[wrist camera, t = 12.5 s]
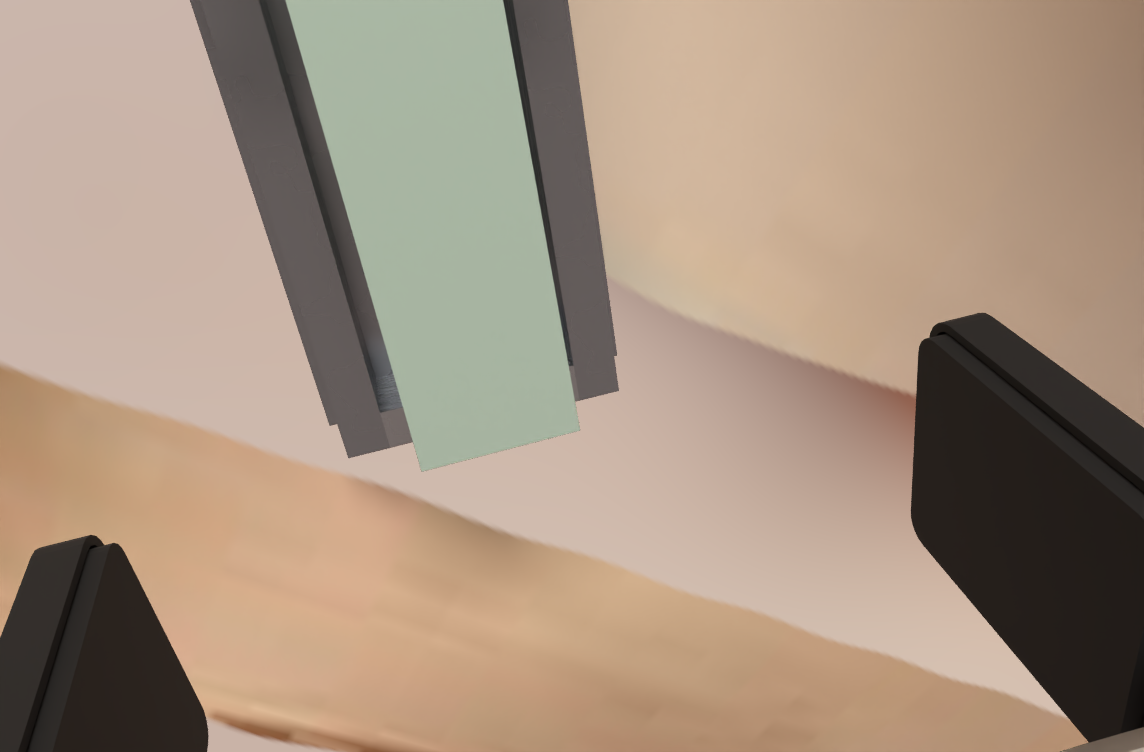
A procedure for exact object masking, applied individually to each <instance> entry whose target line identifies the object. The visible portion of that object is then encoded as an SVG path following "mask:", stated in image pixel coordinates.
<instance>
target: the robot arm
mask: <svg viewBox="0 0 1144 752" xmlns="http://www.w3.org/2000/svg"><path fill="white" fill-rule="evenodd" d="M911 519H912V523H913V527H914V530H915V532H916V534H917V537H918V538H919V540H920V541H921V543H922V544H923V545H924V547H925V548H926V549H927V550H928V551H929V553H930V554H931V555H932V556H933V557H934V558H935V560H936V561H937V562H938V563H939V565H940V566H941V567H942V568H943V569H944V570H945V572H946V573H947V574H948V575H949V576H950V578H951V579H952V580H953V581H954V582H955V584H956V585H957V586H958V587H959V588H960V589H961V590H962V592H963V593H964V594H965V595H966V596H967V598H968V599H969V600H970V601H971V603H972V604H973V605H974V606H975V607H976V608H977V610H978V611H979V612H980V613H981V614H982V616H983V617H984V618H985V619H986V620H987V622H988V623H989V624H990V625H991V626H992V627H993V629H994V630H995V631H996V632H997V633H998V635H999V636H1000V637H1001V638H1002V639H1003V641H1004V642H1005V643H1006V644H1007V645H1008V647H1009V648H1010V649H1011V650H1012V651H1013V653H1014V654H1015V655H1016V656H1017V657H1018V658H1019V660H1020V661H1021V662H1022V663H1023V664H1024V665H1025V667H1026V668H1027V669H1028V670H1029V672H1030V673H1031V674H1032V675H1033V676H1034V677H1035V679H1036V680H1037V681H1038V682H1039V684H1040V685H1041V686H1042V687H1043V688H1044V689H1045V691H1046V692H1047V693H1048V694H1049V695H1050V697H1051V698H1052V699H1053V700H1054V701H1055V703H1056V704H1057V705H1058V706H1059V707H1060V708H1061V710H1062V711H1063V712H1064V713H1065V714H1066V716H1067V717H1068V718H1069V719H1070V720H1071V722H1072V723H1073V724H1074V725H1075V726H1076V728H1077V729H1078V730H1079V731H1080V732H1081V733H1082V735H1083V736H1084V737H1085V738H1086V739H1087V741H1088V742H1089V743H1086V744H1083V745H1080V746H1076V747H1073V748H1070V749H1067V750H1063V751H1060V752H1144V428H1143V427H1142V426H1141V425H1139V424H1138V423H1136V422H1135V421H1134V420H1132V419H1131V418H1130V417H1128V416H1127V415H1126V414H1124V413H1123V412H1121V411H1120V410H1119V409H1117V408H1116V407H1115V406H1113V405H1112V404H1111V403H1109V402H1108V401H1106V400H1105V399H1104V398H1102V397H1101V396H1100V395H1098V394H1097V393H1096V392H1094V391H1093V390H1091V389H1090V388H1089V387H1087V386H1086V385H1085V384H1083V383H1082V382H1081V381H1079V380H1078V379H1076V378H1075V377H1074V376H1072V375H1071V374H1070V373H1068V372H1067V371H1066V370H1064V369H1063V368H1061V367H1060V366H1059V365H1057V364H1056V363H1055V362H1053V361H1052V360H1051V359H1049V358H1048V357H1046V356H1045V355H1044V354H1042V353H1041V352H1040V351H1038V350H1037V349H1036V348H1034V347H1033V346H1031V345H1030V344H1029V343H1027V342H1026V341H1025V340H1023V339H1022V338H1021V337H1019V336H1018V335H1016V334H1015V333H1014V332H1012V331H1011V330H1010V329H1008V328H1007V327H1006V326H1004V325H1003V324H1001V323H1000V322H999V321H997V320H996V319H995V318H993V317H992V316H990V315H988V314H986V313H977V314H973V315H969V316H965V317H961V318H957V319H953V320H949V321H945V322H941V323H938V324H936V325H935V326H934V327H933V329H932V331H931V333H930V338H927V339H924V340H923V341H922V342H921V344H920V346H919V352H918V373H917V394H916V416H915V436H914V457H913V479H912V501H911ZM207 747H208V728H207V721H206V717H205V713H204V710H203V708H202V706H201V704H200V702H199V700H198V698H197V696H196V694H195V692H194V690H193V688H192V686H191V684H190V682H189V680H188V678H187V676H186V674H185V672H184V670H183V668H182V666H181V664H180V662H179V660H178V658H177V656H176V654H175V652H174V650H173V648H172V646H171V644H170V642H169V640H168V638H167V636H166V634H165V632H164V630H163V628H162V626H161V624H160V622H159V620H158V618H157V616H156V614H155V612H154V610H153V608H152V606H151V604H150V602H149V600H148V598H147V596H146V594H145V592H144V590H143V588H142V586H141V584H140V582H139V580H138V578H137V576H136V574H135V572H134V570H133V568H132V566H131V564H130V562H129V560H128V558H127V556H126V554H125V552H124V551H123V549H122V548H121V547H120V546H119V545H118V544H116V543H112V544H108V545H104V544H103V543H102V541H101V540H100V539H99V538H98V537H97V536H93V535H89V536H85V537H81V538H77V539H73V540H69V541H65V542H61V543H57V544H53V545H49V546H45V547H41V548H39V549H37V550H35V551H34V553H33V555H32V556H31V559H30V561H29V564H28V566H27V569H26V572H25V574H24V577H23V580H22V582H21V585H20V587H19V590H18V593H17V595H16V598H15V601H14V603H13V606H12V609H11V611H10V614H9V616H8V619H7V622H6V624H5V627H4V630H3V632H2V635H1V637H0V752H207Z"/></svg>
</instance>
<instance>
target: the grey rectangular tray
mask: <svg viewBox="0 0 1144 752" xmlns="http://www.w3.org/2000/svg"><path fill="white" fill-rule="evenodd" d="M190 2H191V5H192V8H193V11H194V14H195V17H196V20H197V23H198V26H199V29H200V32H201V35H202V38H203V41H204V44H205V48H206V51H207V54H208V56H209V60H210V63H211V66H212V69H213V72H214V75H215V78H216V81H217V84H218V87H219V90H220V93H221V96H222V99H223V102H224V105H225V108H226V112H227V115H228V118H229V121H230V123H231V127H232V130H233V133H234V136H235V139H236V142H237V145H238V148H239V151H240V154H241V157H242V160H243V163H244V166H245V169H246V172H247V175H248V178H249V182H250V185H251V187H252V191H253V194H254V196H255V200H256V203H257V206H258V209H259V212H260V215H261V218H262V221H263V224H264V227H265V230H266V233H267V236H268V239H269V242H270V245H271V248H272V251H273V254H274V258H275V261H276V263H277V266H278V270H279V273H280V276H281V279H282V282H283V285H284V288H285V291H286V294H287V297H288V300H289V303H290V306H291V309H292V312H293V315H294V319H295V321H296V324H297V327H298V331H299V334H300V336H301V340H302V343H303V346H304V349H305V352H306V355H307V358H308V361H309V364H310V367H311V370H312V373H313V376H314V379H315V382H316V385H317V389H318V391H319V395H320V398H321V401H322V404H323V407H324V410H325V413H326V416H327V419H328V422H329V425H330V426H331V425H335V424H338V427H339V431H340V433H341V437H342V439H343V443H344V446H345V449H346V452H347V455H348V458H351V457H355V456H359V455H363V454H367V453H371V452H375V451H379V450H383V449H387V448H391V447H395V446H399V445H403V444H407V443H411V442H413V440H412V437H411V433H410V430H409V426H408V423H407V419H406V416H405V413H404V409H403V406H402V402H401V399H400V395H399V392H398V388H397V385H396V381H395V378H394V374H393V371H392V368H391V364H390V361H389V357H388V354H387V350H386V347H385V343H384V340H383V336H382V333H381V329H380V326H379V322H378V319H377V316H376V312H375V309H374V305H373V302H372V298H371V295H370V291H369V288H368V284H367V281H366V277H365V274H364V271H363V267H362V264H361V260H360V257H359V253H358V250H357V246H356V243H355V239H354V236H353V232H352V229H351V225H350V222H349V219H348V215H347V212H346V208H345V205H344V201H343V198H342V194H341V191H340V187H339V184H338V180H337V177H336V174H335V170H334V167H333V163H332V160H331V156H330V153H329V149H328V146H327V142H326V139H325V135H324V132H323V129H322V125H321V122H320V118H319V115H318V111H317V108H316V104H315V101H314V97H313V94H312V90H311V87H310V83H309V80H308V77H307V73H306V70H305V66H304V63H303V59H302V56H301V52H300V49H299V45H298V42H297V38H296V35H295V32H294V28H293V25H292V21H291V18H290V14H289V11H288V7H287V4H286V0H190ZM503 3H504V8H505V14H506V20H507V25H508V31H509V36H510V42H511V47H512V53H513V59H514V64H515V70H516V75H517V81H518V87H519V92H520V98H521V103H522V109H523V114H524V120H525V126H526V131H527V137H528V142H529V148H530V153H531V159H532V165H533V170H534V176H535V181H536V187H537V193H538V198H539V204H540V209H541V215H542V220H543V226H544V232H545V237H546V243H547V248H548V254H549V259H550V265H551V271H552V276H553V282H554V287H555V293H556V298H557V304H558V310H559V315H560V321H561V326H562V332H563V338H564V343H565V349H566V354H567V360H568V365H569V371H570V377H571V382H572V388H573V393H574V399H575V401H580V400H583V399H588V398H592V397H596V396H599V395H604V394H608V393H611V392H616V391H619V388H618V381H617V374H616V367H615V360H614V356H617V351H616V344H615V336H614V329H613V323H612V315H611V308H610V301H609V293H608V286H607V279H606V272H605V265H604V257H603V250H602V243H601V236H600V229H599V221H598V214H597V207H596V200H595V193H594V185H593V178H592V171H591V164H590V157H589V150H588V142H587V135H586V128H585V121H584V114H583V106H582V99H581V92H580V85H579V78H578V70H577V63H576V56H575V49H574V42H573V35H572V27H571V20H570V13H569V6H568V0H503Z"/></svg>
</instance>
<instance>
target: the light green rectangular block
mask: <svg viewBox="0 0 1144 752" xmlns="http://www.w3.org/2000/svg"><path fill="white" fill-rule="evenodd" d="M286 4H287V7H288V11H289V14H290V18H291V21H292V25H293V28H294V32H295V35H296V38H297V42H298V45H299V49H300V52H301V56H302V59H303V63H304V66H305V70H306V73H307V77H308V80H309V83H310V87H311V90H312V94H313V97H314V101H315V104H316V108H317V111H318V115H319V118H320V122H321V125H322V129H323V132H324V135H325V139H326V142H327V146H328V149H329V153H330V156H331V160H332V163H333V167H334V170H335V174H336V177H337V180H338V184H339V187H340V191H341V194H342V198H343V201H344V205H345V208H346V212H347V215H348V219H349V222H350V225H351V229H352V232H353V236H354V239H355V243H356V246H357V250H358V253H359V257H360V260H361V264H362V267H363V271H364V274H365V277H366V281H367V284H368V288H369V291H370V295H371V298H372V302H373V305H374V309H375V312H376V316H377V319H378V322H379V326H380V329H381V333H382V336H383V340H384V343H385V347H386V350H387V354H388V357H389V361H390V364H391V368H392V371H393V374H394V378H395V381H396V385H397V388H398V392H399V395H400V399H401V402H402V406H403V409H404V413H405V416H406V419H407V423H408V426H409V430H410V433H411V437H412V440H413V444H414V447H415V450H416V454H417V458H418V461H419V464H420V468H421V471H426V470H430V469H434V468H438V467H442V466H445V465H449V464H453V463H457V462H461V461H464V460H469V459H473V458H476V457H480V456H484V455H488V454H492V453H495V452H499V451H503V450H507V449H511V448H515V447H518V446H522V445H526V444H530V443H534V442H538V441H541V440H545V439H549V438H553V437H557V436H561V435H564V434H568V433H572V432H576V431H580V427H579V422H578V416H577V411H576V405H575V399H574V393H573V388H572V382H571V377H570V371H569V365H568V360H567V354H566V349H565V343H564V338H563V332H562V326H561V321H560V315H559V310H558V304H557V298H556V293H555V287H554V282H553V276H552V271H551V265H550V259H549V254H548V248H547V243H546V237H545V232H544V226H543V220H542V215H541V209H540V204H539V198H538V193H537V187H536V181H535V176H534V170H533V165H532V159H531V153H530V148H529V142H528V137H527V131H526V126H525V120H524V114H523V109H522V103H521V98H520V92H519V87H518V81H517V75H516V70H515V64H514V59H513V53H512V47H511V42H510V36H509V31H508V25H507V20H506V14H505V8H504V3H503V0H286Z"/></svg>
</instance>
